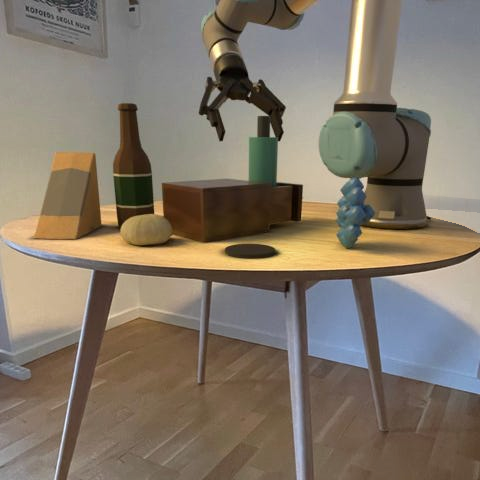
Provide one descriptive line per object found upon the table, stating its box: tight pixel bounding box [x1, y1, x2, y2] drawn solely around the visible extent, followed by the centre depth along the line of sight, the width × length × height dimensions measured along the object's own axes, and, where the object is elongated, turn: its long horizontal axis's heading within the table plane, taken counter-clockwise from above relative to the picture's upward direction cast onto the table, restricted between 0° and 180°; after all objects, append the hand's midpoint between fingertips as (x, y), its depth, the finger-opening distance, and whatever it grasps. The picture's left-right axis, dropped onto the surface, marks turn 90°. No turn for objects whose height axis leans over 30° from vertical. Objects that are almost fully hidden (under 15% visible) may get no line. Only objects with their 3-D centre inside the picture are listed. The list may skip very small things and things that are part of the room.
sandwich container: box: [33, 151, 102, 240], centre depth 92 cm, size 9×15×15 cm, turn 177°
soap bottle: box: [248, 115, 279, 187], centre depth 98 cm, size 6×6×20 cm
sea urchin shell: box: [119, 213, 173, 246], centre depth 85 cm, size 9×8×8 cm
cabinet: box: [161, 178, 270, 243], centre depth 94 cm, size 17×14×10 cm
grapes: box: [335, 177, 375, 249], centre depth 79 cm, size 12×7×12 cm, turn 178°
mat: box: [224, 243, 276, 259], centre depth 78 cm, size 8×8×1 cm
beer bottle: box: [112, 102, 155, 229], centre depth 95 cm, size 8×8×24 cm
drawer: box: [269, 181, 304, 225], centre depth 101 cm, size 20×12×8 cm, turn 131°
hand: (252, 136), depth 102 cm, fingers open, 13 cm apart
